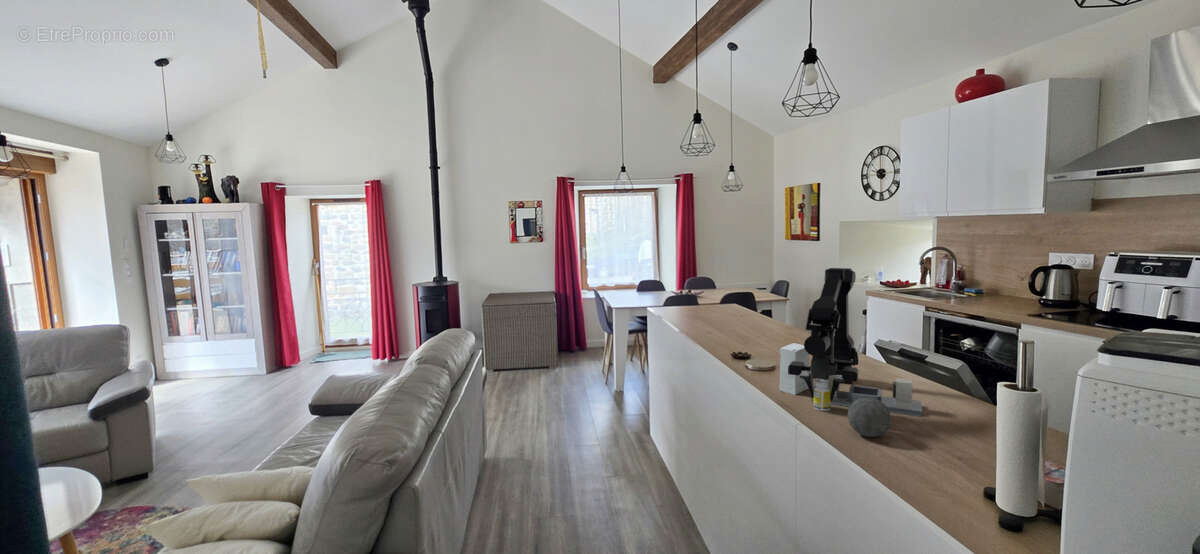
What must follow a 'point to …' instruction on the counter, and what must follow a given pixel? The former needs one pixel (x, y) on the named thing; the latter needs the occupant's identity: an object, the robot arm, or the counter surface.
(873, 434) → the decorative ball
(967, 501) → the counter surface
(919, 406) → the rail
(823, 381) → the supplement bottle
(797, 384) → the skincare box
